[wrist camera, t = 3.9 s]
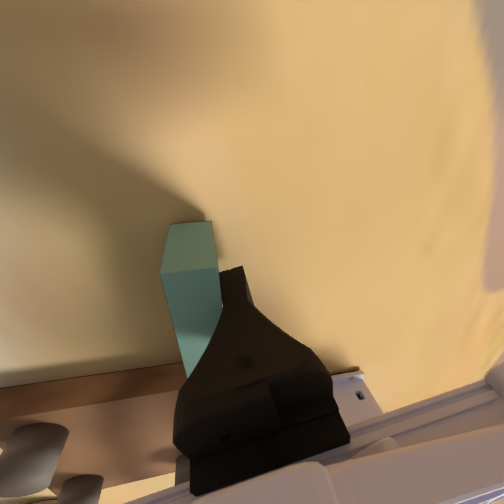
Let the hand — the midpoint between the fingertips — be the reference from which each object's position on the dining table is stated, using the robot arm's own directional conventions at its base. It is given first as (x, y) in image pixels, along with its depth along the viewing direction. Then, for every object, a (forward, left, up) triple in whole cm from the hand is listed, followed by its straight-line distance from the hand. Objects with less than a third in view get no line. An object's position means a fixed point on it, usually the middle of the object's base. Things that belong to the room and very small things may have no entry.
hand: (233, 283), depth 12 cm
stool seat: (+8, +16, -2) cm, 17 cm away
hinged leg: (+2, +3, -1) cm, 3 cm away
